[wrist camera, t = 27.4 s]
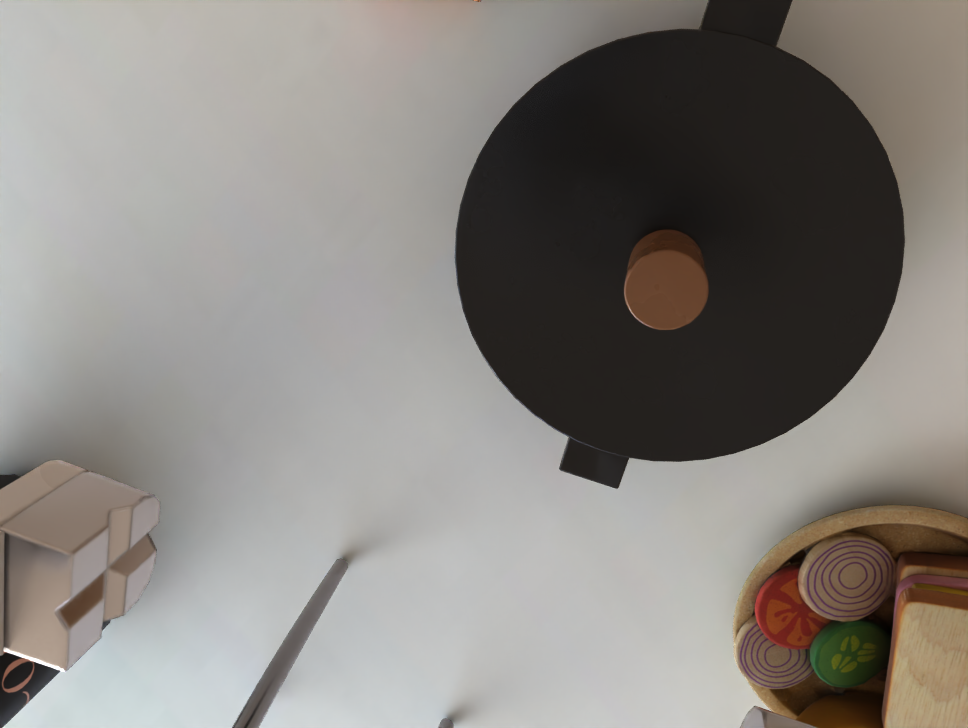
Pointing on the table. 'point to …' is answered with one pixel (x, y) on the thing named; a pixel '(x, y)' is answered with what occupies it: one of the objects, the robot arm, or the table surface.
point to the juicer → (294, 653)
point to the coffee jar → (21, 668)
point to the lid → (679, 245)
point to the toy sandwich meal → (861, 621)
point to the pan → (731, 8)
